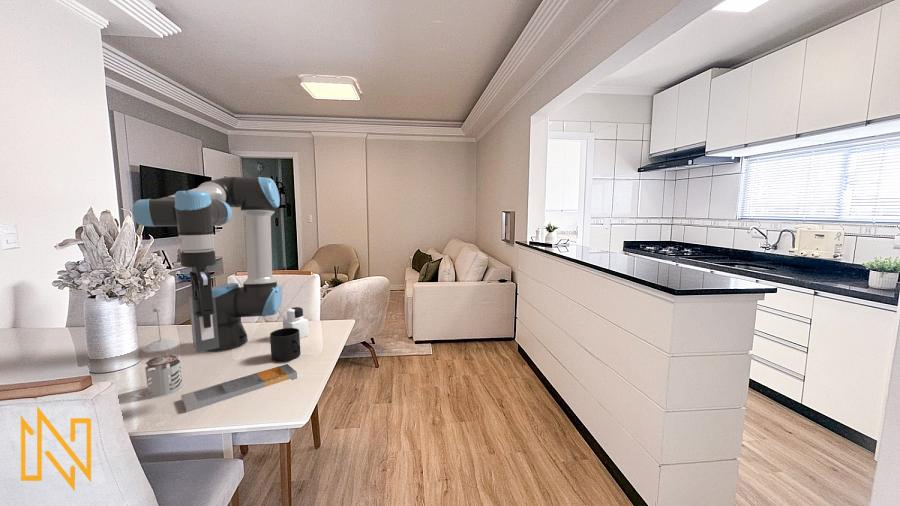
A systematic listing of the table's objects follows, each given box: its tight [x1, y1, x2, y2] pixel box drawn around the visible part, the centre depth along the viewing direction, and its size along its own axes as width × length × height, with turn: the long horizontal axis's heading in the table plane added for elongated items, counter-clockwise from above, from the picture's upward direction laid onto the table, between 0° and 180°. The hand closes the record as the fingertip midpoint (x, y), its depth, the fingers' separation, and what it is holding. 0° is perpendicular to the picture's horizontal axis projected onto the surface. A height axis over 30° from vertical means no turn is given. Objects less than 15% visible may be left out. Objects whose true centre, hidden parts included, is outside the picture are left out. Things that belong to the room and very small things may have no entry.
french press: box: [142, 306, 186, 399], centre depth 101 cm, size 10×12×25 cm
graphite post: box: [188, 295, 219, 354], centre depth 95 cm, size 5×5×14 cm
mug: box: [269, 327, 301, 363], centre depth 125 cm, size 9×12×9 cm
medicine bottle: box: [282, 306, 310, 339], centre depth 145 cm, size 7×7×12 cm
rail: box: [180, 363, 298, 413], centre depth 103 cm, size 8×28×2 cm, turn 134°
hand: (205, 335), depth 96 cm, fingers closed on graphite post, 5 cm apart
